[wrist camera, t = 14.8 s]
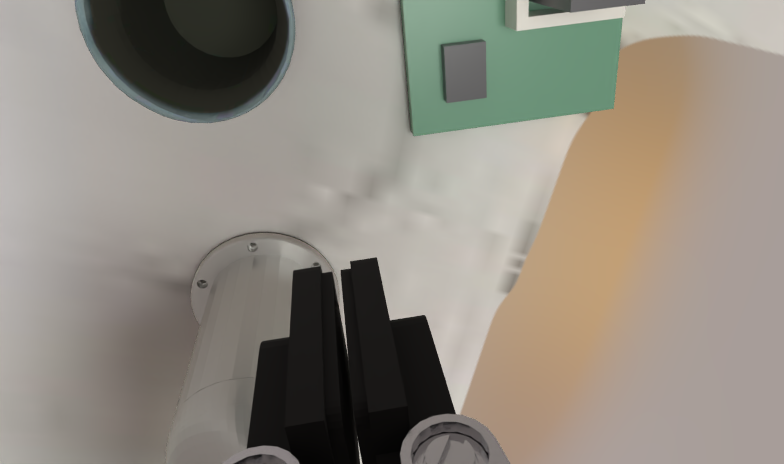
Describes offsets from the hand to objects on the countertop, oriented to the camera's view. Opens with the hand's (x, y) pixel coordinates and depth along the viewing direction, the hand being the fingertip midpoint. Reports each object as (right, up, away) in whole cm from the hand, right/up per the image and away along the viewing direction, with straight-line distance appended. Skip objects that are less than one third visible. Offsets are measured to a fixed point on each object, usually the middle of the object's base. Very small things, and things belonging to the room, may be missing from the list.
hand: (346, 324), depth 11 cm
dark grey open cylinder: (-11, +18, +26) cm, 33 cm away
